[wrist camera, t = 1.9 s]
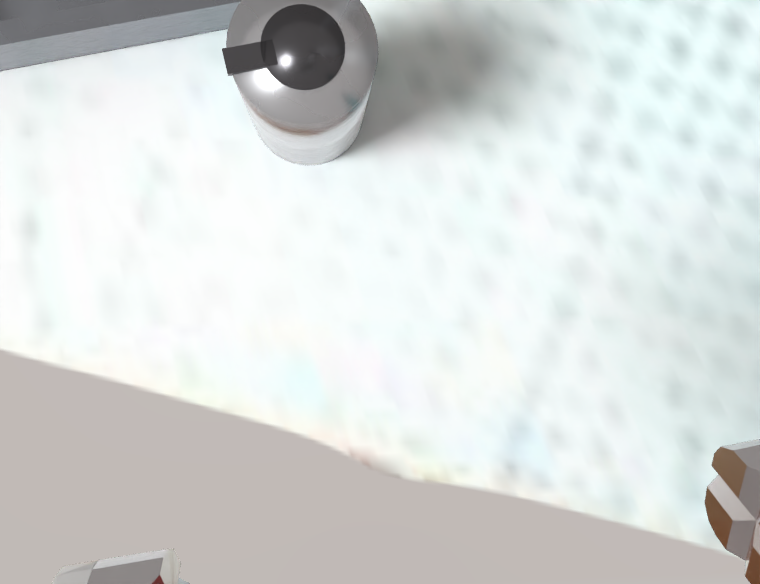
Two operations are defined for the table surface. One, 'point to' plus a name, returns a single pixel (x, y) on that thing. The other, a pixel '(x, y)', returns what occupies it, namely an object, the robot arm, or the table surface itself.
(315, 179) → the table surface
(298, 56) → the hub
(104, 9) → the shaft seat
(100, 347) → the table surface
